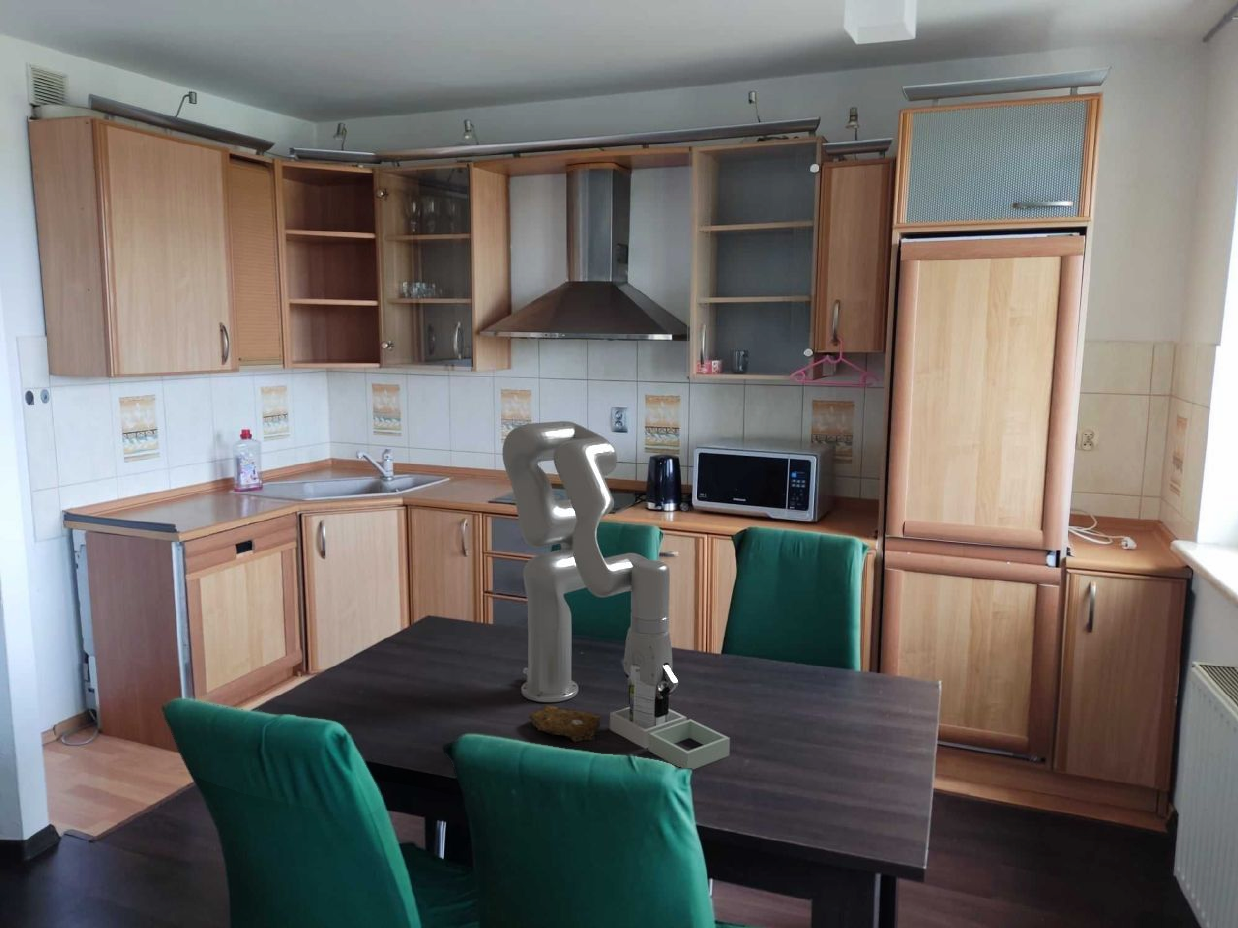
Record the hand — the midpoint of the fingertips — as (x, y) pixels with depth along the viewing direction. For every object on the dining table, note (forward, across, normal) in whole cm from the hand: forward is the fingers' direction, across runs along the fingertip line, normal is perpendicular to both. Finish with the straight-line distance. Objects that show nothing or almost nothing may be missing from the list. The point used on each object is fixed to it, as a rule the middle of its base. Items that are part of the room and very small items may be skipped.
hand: (648, 708), depth 184 cm
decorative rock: (+5, -11, -13) cm, 18 cm away
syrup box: (+5, 0, 0) cm, 5 cm away
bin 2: (+5, +12, 0) cm, 13 cm away
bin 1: (+5, 0, 0) cm, 5 cm away
